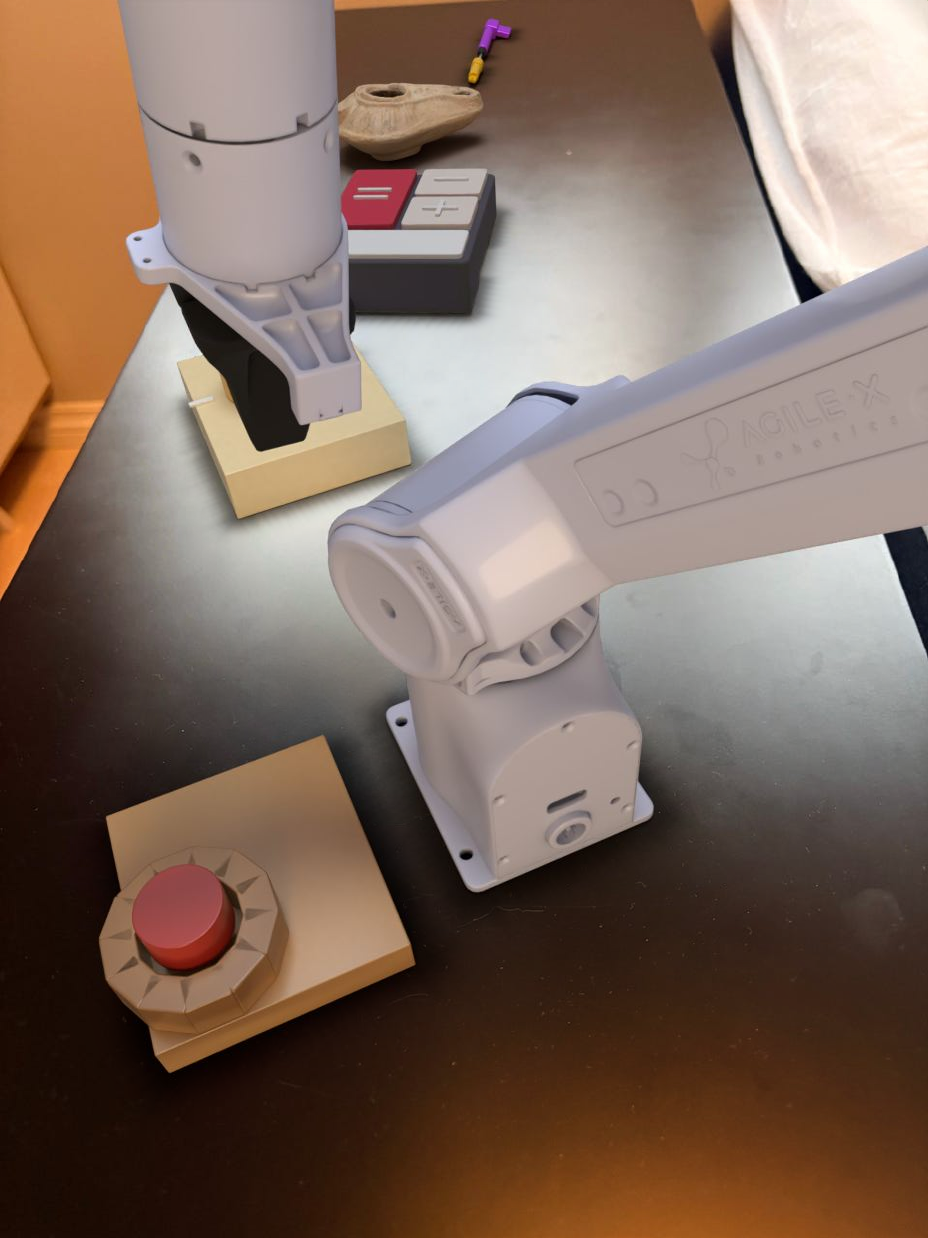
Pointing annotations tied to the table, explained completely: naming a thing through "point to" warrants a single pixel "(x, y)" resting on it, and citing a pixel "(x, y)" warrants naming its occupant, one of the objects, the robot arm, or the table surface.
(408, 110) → the pottery oil lamp
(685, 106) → the table surface
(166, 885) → the power button
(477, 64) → the purple yellow angled rod
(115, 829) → the button base
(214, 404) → the panel
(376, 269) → the calculator
